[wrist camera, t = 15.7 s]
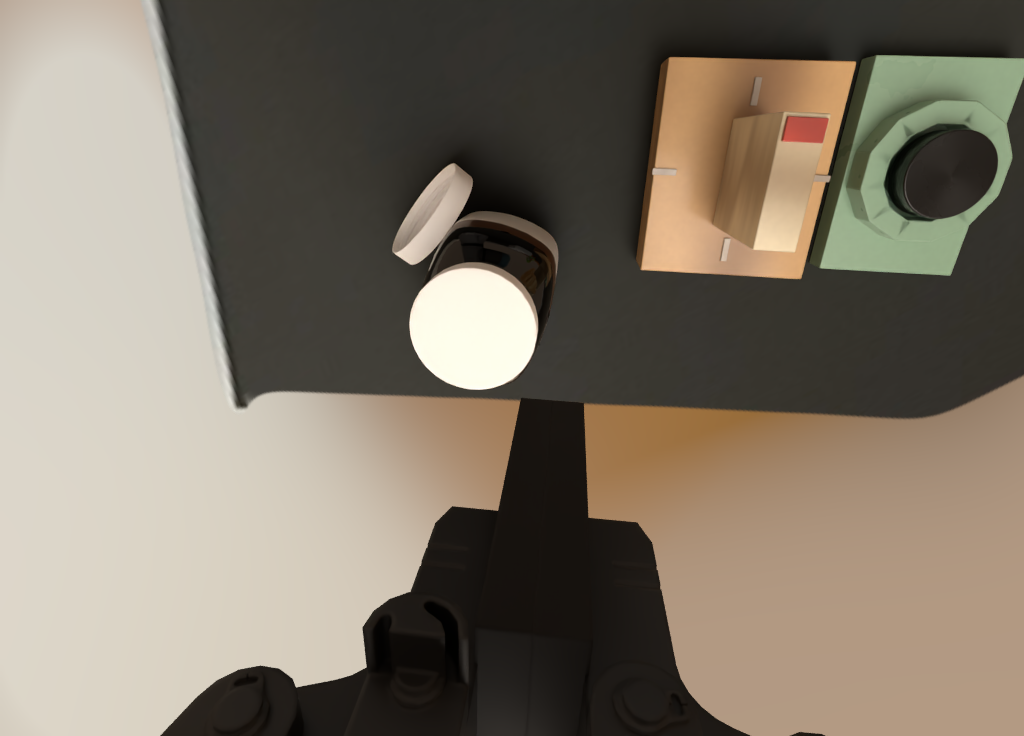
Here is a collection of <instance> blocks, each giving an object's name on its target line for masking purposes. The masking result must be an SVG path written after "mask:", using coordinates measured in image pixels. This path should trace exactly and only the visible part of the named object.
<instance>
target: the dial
mask: <svg viewBox="0 0 1024 736" xmlns="http://www.w3.org/2000/svg"><path fill="white" fill-rule="evenodd" d="M830 116H831V114H829V113H810V112H788V111H784V112H777V113H770V114H763V115H756V116H749V117H741V118H735V119H733V124H732V129H731V134H730V139H729V144H728V149H727V155H726V160H725V165H724V170H723V175H722V180H721V185H720V191H719V196H718V201H717V206H716V211H715V216H714V221H713V226H715V227H716V228H718V229H720V230H721V231H723V232H725V233H726V234H728V235H730V236H731V237H733V238H735V239H736V240H738V241H739V242H741V243H743V244H744V245H746V246H748V247H749V248H751V249H753V250H762V251H777V252H792V253H794V252H795V251H796V247H797V243H798V239H799V235H800V231H801V228H802V224H803V220H804V216H805V212H806V208H807V205H808V201H809V197H810V193H811V189H812V185H813V182H814V178H815V174H816V170H817V166H818V162H819V159H820V155H821V151H822V147H823V143H824V139H825V135H826V132H827V128H828V124H829V120H830Z"/></svg>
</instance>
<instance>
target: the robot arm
mask: <svg viewBox="0 0 1024 736" xmlns="http://www.w3.org/2000/svg"><path fill="white" fill-rule="evenodd" d="M584 425H585V423H584V403H578V402H565V401H552V400H540V399H527V398H521V401H520V406H519V411H518V416H517V421H516V426H515V431H514V436H513V441H512V446H511V451H510V456H509V461H508V466H507V471H506V475H505V480H504V486H503V490H502V495H501V500H500V505H499V510H498V511H493V510H484V509H473V508H463V507H453V506H452V507H451V508H450V509H449V510H448V511H447V512H446V513H445V514H444V515H443V516H442V517H441V518H440V519H439V520H438V521H437V522H436V523H435V526H434V529H433V531H432V534H431V537H430V540H429V543H428V547H427V548H426V551H425V553H424V556H423V559H422V564H421V566H420V567H419V570H418V573H417V576H416V578H415V581H414V584H413V587H412V589H411V592H408V593H406V594H403V595H400V596H397V597H395V598H392V599H389V600H388V601H387V602H385V603H384V604H383V605H381V606H380V607H379V608H377V609H376V610H374V611H373V613H372V614H371V616H370V617H369V619H368V620H367V622H366V623H365V625H364V626H363V636H364V645H365V655H366V664H367V668H365V669H363V670H361V671H359V672H357V673H355V674H353V675H351V676H347V677H344V678H341V679H338V680H333V681H328V682H323V683H318V684H312V685H307V686H302V687H297V688H296V687H295V684H294V682H293V679H292V678H290V677H289V676H288V675H287V674H285V673H284V672H283V671H281V670H280V669H277V668H271V667H265V666H256V667H251V668H245V669H240V670H237V671H236V672H233V673H231V674H229V675H227V676H225V677H223V678H221V679H219V680H217V681H216V682H215V683H213V684H212V685H211V686H210V687H209V688H207V689H206V690H205V691H204V692H203V693H201V694H200V695H199V696H198V697H197V698H196V699H195V700H194V701H193V702H192V703H191V704H190V705H189V706H188V707H187V708H186V709H185V710H184V711H183V712H182V713H181V714H180V716H179V717H178V718H177V719H176V720H175V721H174V722H173V723H172V724H171V725H170V726H169V727H168V728H167V729H166V730H165V731H164V732H163V734H162V735H161V736H750V735H748V734H745V733H743V732H741V731H739V730H736V729H734V728H732V727H730V726H728V725H726V724H725V723H723V722H721V721H719V720H718V719H716V718H714V717H713V716H712V715H711V714H710V713H708V712H707V711H706V710H705V709H703V708H702V707H701V706H700V705H699V704H698V703H697V701H696V700H695V699H694V698H693V697H692V696H691V695H690V693H689V692H688V690H687V689H686V687H685V685H684V684H683V682H682V680H681V678H680V675H679V672H678V669H677V666H676V662H675V657H674V652H673V647H672V642H671V636H670V631H669V626H668V622H667V616H666V611H665V606H664V601H663V596H662V591H661V590H660V580H659V576H658V570H657V569H656V566H657V565H656V560H655V555H654V550H653V545H652V542H651V541H650V539H649V538H648V537H647V535H646V534H645V533H644V531H643V530H642V528H641V527H640V526H639V524H638V523H636V522H626V521H616V520H604V519H594V518H588V501H587V500H588V499H587V475H586V474H587V473H586V451H585V426H584ZM791 736H825V735H822V734H815V733H803V732H799V733H796V734H794V735H791Z"/></svg>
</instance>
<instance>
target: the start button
mask: <svg viewBox="0 0 1024 736" xmlns="http://www.w3.org/2000/svg"><path fill="white" fill-rule="evenodd" d="M997 169H998V154H997V151H996V148H995V146H994V144H993V143H992V141H991V140H990V139H989V138H988V137H987V136H985V135H984V134H982V133H980V132H978V131H974V130H969V129H952V130H936V131H932V132H929V133H926V134H924V135H921V136H920V137H918V138H916V139H915V140H913V141H912V142H910V143H909V144H908V145H907V146H906V147H905V148H904V149H903V150H902V151H901V152H900V153H899V154H898V156H897V157H896V159H895V160H894V162H893V164H892V166H891V168H890V171H889V175H888V181H887V187H888V193H889V196H890V199H891V200H892V202H893V203H894V205H895V206H896V207H897V208H898V209H900V210H901V211H903V212H905V213H908V214H911V215H916V216H920V217H925V218H930V219H944V218H949V217H953V216H956V215H958V214H960V213H963V212H965V211H966V210H968V209H970V208H971V207H972V206H974V205H975V204H976V203H977V202H979V201H980V200H981V199H982V198H983V196H984V195H985V194H986V193H987V191H988V190H989V189H990V187H991V185H992V183H993V181H994V179H995V177H996V173H997Z"/></svg>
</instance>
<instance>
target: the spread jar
mask: <svg viewBox="0 0 1024 736" xmlns="http://www.w3.org/2000/svg"><path fill="white" fill-rule="evenodd" d="M472 186H473V180H472V177H471V176H469V175H468V174H467V173H466V172H465V171H464V170H462V169H461V168H460V167H459V166H458V165H456V164H455V163H452V164H450V165H448V166H447V167H445V168H444V169H443V170H442V171H441V172H440V173H439V174H438V175H437V176H436V177H435V178H434V179H433V180H432V181H431V182H430V184H429V185H428V186H427V187H426V189H425V190H424V191H423V192H422V194H421V195H420V196H419V198H418V199H417V201H416V202H415V204H414V205H413V207H412V208H411V210H410V211H409V213H408V214H407V216H406V218H405V219H404V221H403V223H402V225H401V227H400V229H399V231H398V233H397V235H396V237H395V240H394V243H393V247H392V251H393V253H394V254H396V255H397V256H399V257H400V258H402V259H403V260H405V261H406V262H407V263H409V264H411V265H414V264H417V263H419V262H420V261H422V260H423V259H424V258H426V257H427V256H428V255H429V254H430V253H431V252H432V251H433V250H434V249H435V248H436V246H437V245H438V244H439V243H440V242H441V243H440V245H439V247H438V249H437V251H436V253H435V255H434V257H433V259H432V262H431V264H430V266H429V269H428V271H427V274H426V277H425V280H424V283H423V286H422V290H421V291H420V292H419V294H418V296H417V298H416V299H415V301H414V304H413V307H412V310H411V314H410V323H409V325H410V336H411V339H412V343H413V346H414V349H415V350H416V352H417V354H418V356H419V358H420V359H421V361H422V362H423V363H424V365H425V366H426V367H427V368H428V369H429V370H430V371H431V372H432V373H433V374H435V375H436V376H437V377H439V378H440V379H442V380H444V381H445V382H447V383H449V384H452V385H454V386H457V387H461V388H466V389H477V390H482V389H489V388H494V387H497V386H500V385H504V384H509V383H511V382H513V381H515V380H516V379H517V378H519V377H520V375H521V374H522V373H523V372H524V371H525V369H526V368H527V366H528V364H529V363H530V361H531V359H532V357H533V356H534V354H535V352H536V350H537V348H538V345H539V343H540V341H541V338H542V335H543V333H544V330H545V327H546V324H547V320H548V318H549V313H550V309H551V305H552V299H553V293H554V288H555V282H556V274H557V267H558V248H557V244H556V242H555V240H554V238H553V237H552V236H551V235H550V234H549V233H548V232H547V231H545V230H544V229H542V228H541V227H539V226H537V225H535V224H534V223H531V222H529V221H527V220H525V219H522V218H519V217H516V216H513V215H509V214H505V213H499V212H491V211H477V212H473V213H470V214H468V215H466V216H465V217H463V218H461V219H460V220H459V221H457V222H456V223H455V221H456V220H457V218H458V216H459V215H460V213H461V211H462V210H463V208H464V206H465V204H466V202H467V200H468V198H469V195H470V193H471V189H472ZM454 223H455V224H454ZM453 224H454V225H453Z"/></svg>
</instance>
